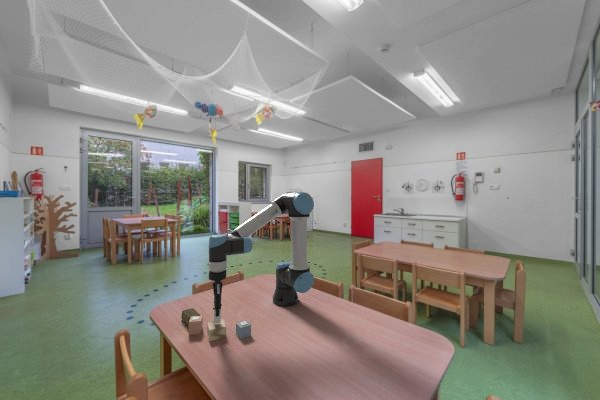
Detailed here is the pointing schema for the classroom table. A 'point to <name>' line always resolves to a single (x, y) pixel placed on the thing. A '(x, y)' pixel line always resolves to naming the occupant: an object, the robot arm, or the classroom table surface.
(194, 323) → the terracotta block
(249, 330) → the slate block
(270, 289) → the classroom table surface
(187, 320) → the stone block
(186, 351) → the classroom table surface
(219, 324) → the oak block
